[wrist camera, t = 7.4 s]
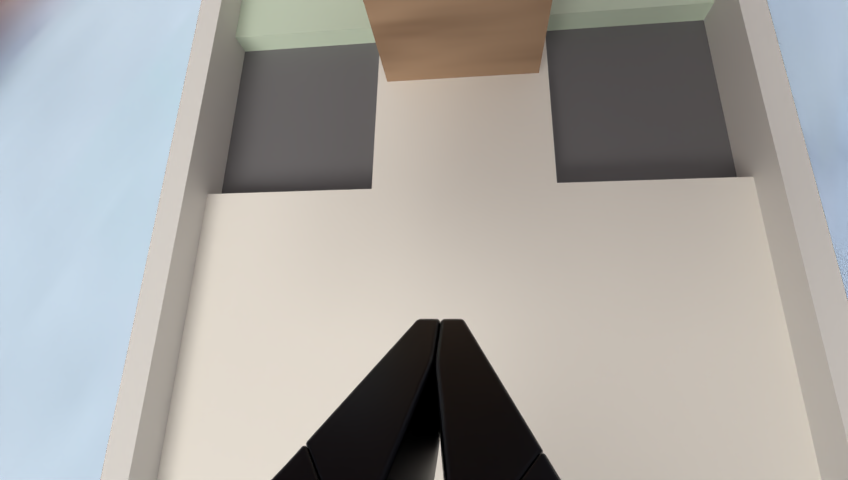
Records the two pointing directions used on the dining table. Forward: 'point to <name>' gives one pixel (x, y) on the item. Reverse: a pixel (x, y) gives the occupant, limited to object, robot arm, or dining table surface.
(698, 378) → the white recessed tray
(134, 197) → the dining table surface
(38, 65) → the dining table surface
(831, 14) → the dining table surface
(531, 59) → the walnut block
